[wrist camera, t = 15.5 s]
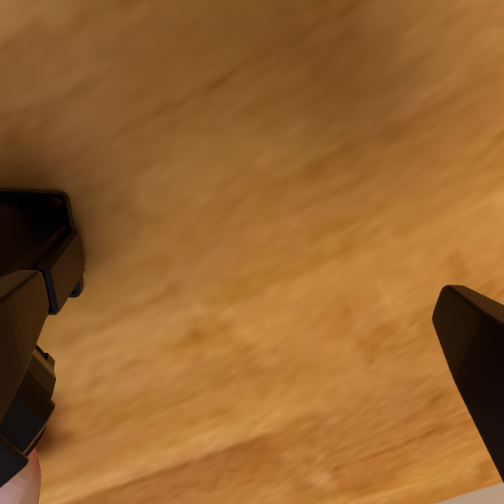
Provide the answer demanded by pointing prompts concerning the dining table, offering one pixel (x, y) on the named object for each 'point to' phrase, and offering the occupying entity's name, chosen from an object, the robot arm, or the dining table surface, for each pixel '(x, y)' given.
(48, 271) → the robot arm
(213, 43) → the dining table surface
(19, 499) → the decorative fruit
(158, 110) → the dining table surface
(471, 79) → the dining table surface
